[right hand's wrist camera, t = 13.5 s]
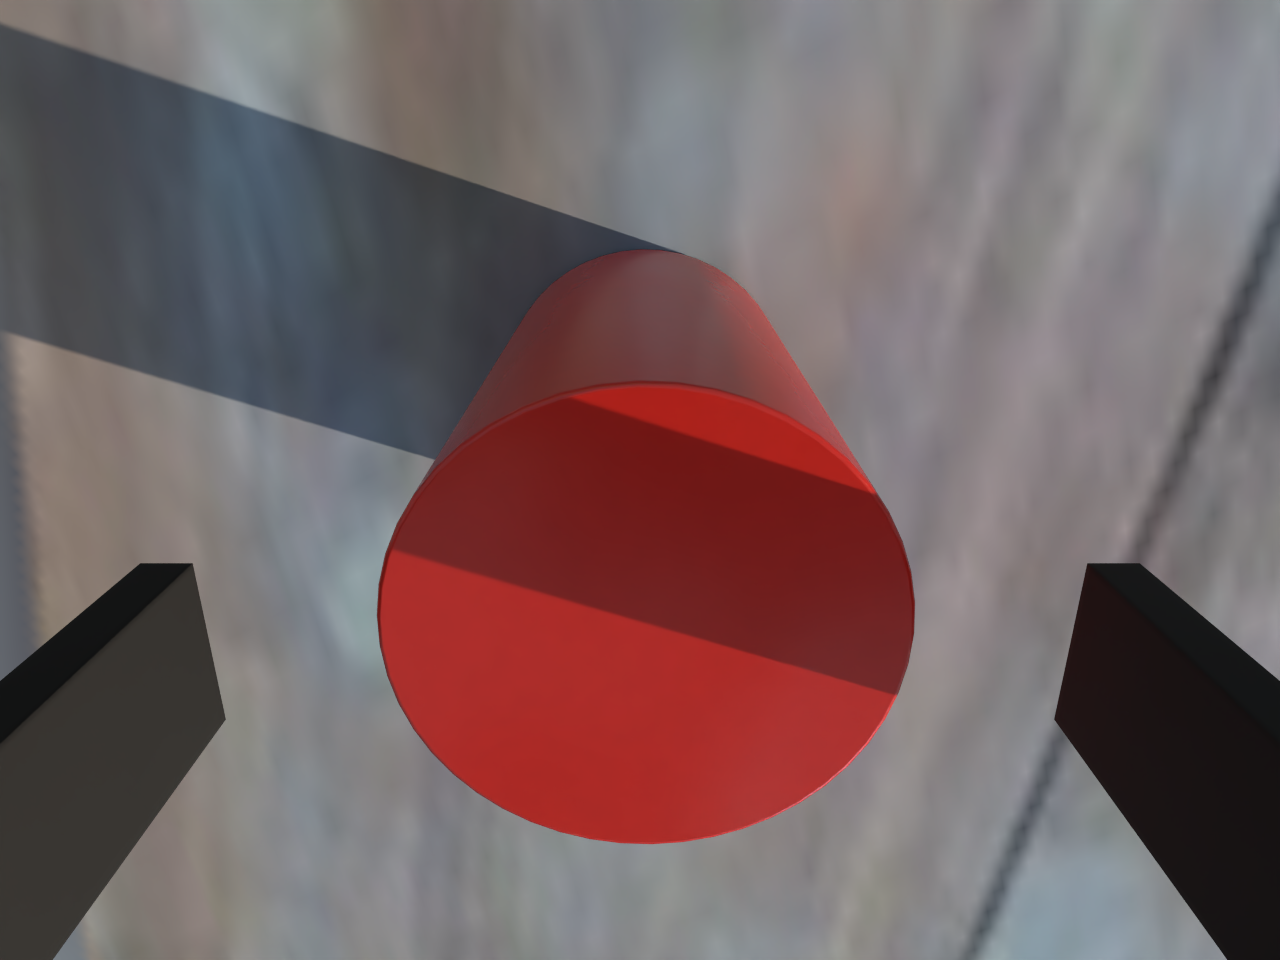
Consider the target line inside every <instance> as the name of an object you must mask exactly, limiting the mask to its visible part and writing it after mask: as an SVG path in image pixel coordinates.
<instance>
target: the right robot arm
mask: <svg viewBox="0 0 1280 960" xmlns="http://www.w3.org/2000/svg"><path fill="white" fill-rule="evenodd" d="M225 720H226V719H225V714H224V709H223V704H222V700H221V695H220V690H219V686H218V681H217V676H216V672H215V667H214V662H213V657H212V653H211V648H210V643H209V639H208V634H207V629H206V624H205V620H204V615H203V610H202V606H201V601H200V596H199V591H198V587H197V582H196V577H195V573H194V568H193V563H140V564H139V565H138V566H137V567H136V568H134V569H133V570H132V571H131V572H130V573H128V574H127V575H126V576H125V577H124V578H122V579H121V580H120V581H119V582H118V583H116V584H115V585H114V586H113V587H112V588H111V589H109V590H108V591H107V592H106V593H105V594H103V595H102V596H101V597H100V598H99V599H97V600H96V601H95V602H94V603H93V604H91V605H90V606H89V607H88V608H87V609H85V610H84V611H83V612H82V613H81V614H80V615H78V616H77V617H76V618H75V619H74V620H72V621H71V622H70V623H69V624H68V625H66V626H65V627H64V628H63V629H62V630H60V631H59V632H58V633H57V634H56V635H55V636H53V637H52V638H51V639H50V640H49V641H47V642H46V643H45V644H44V645H43V646H41V647H40V648H39V649H38V650H37V651H35V652H34V653H33V654H32V655H31V656H30V657H28V658H27V659H26V660H25V661H24V662H22V663H21V664H20V665H19V666H18V667H16V668H15V669H14V670H13V671H12V672H11V673H9V674H8V675H7V676H6V677H5V678H3V679H2V680H1V681H0V960H53V958H54V957H55V956H56V954H57V953H58V952H59V950H60V949H61V947H62V946H63V944H64V943H65V942H66V940H67V939H68V938H69V936H70V935H71V933H72V932H73V931H74V929H75V928H76V927H77V925H78V924H79V922H80V921H81V920H82V918H83V917H84V915H85V914H86V913H87V911H88V910H89V908H90V907H91V906H92V904H93V903H94V902H95V900H96V899H97V897H98V896H99V895H100V893H101V892H102V890H103V889H104V888H105V886H106V885H107V883H108V882H109V881H110V879H111V878H112V877H113V875H114V874H115V872H116V871H117V870H118V868H119V867H120V865H121V864H122V863H123V861H124V860H125V858H126V857H127V856H128V854H129V853H130V852H131V850H132V849H133V847H134V846H135V845H136V843H137V842H138V840H139V839H140V838H141V836H142V835H143V833H144V832H145V831H146V829H147V828H148V827H149V825H150V824H151V822H152V821H153V820H154V818H155V817H156V815H157V814H158V813H159V811H160V810H161V808H162V807H163V806H164V804H165V803H166V802H167V800H168V799H169V797H170V796H171V795H172V793H173V792H174V790H175V789H176V788H177V786H178V785H179V783H180V782H181V781H182V779H183V778H184V777H185V775H186V774H187V772H188V771H189V770H190V768H191V767H192V765H193V764H194V763H195V761H196V760H197V758H198V757H199V756H200V754H201V753H202V752H203V750H204V749H205V747H206V746H207V745H208V743H209V742H210V740H211V739H212V738H213V736H214V735H215V733H216V732H217V731H218V729H219V728H220V727H221V725H222V724H223V722H224V721H225ZM1054 720H1055V721H1056V722H1057V724H1058V725H1059V727H1060V728H1061V729H1062V731H1063V732H1064V733H1065V735H1066V736H1067V738H1068V739H1069V740H1070V742H1071V743H1072V745H1073V746H1074V747H1075V749H1076V750H1077V752H1078V753H1079V754H1080V756H1081V757H1082V758H1083V760H1084V761H1085V763H1086V764H1087V765H1088V767H1089V768H1090V770H1091V771H1092V772H1093V774H1094V775H1095V777H1096V778H1097V779H1098V781H1099V782H1100V783H1101V785H1102V786H1103V788H1104V789H1105V790H1106V792H1107V793H1108V795H1109V796H1110V797H1111V799H1112V800H1113V802H1114V803H1115V804H1116V806H1117V807H1118V808H1119V810H1120V811H1121V813H1122V814H1123V815H1124V817H1125V818H1126V820H1127V821H1128V822H1129V824H1130V825H1131V827H1132V828H1133V829H1134V831H1135V832H1136V833H1137V835H1138V836H1139V838H1140V839H1141V840H1142V842H1143V843H1144V845H1145V846H1146V847H1147V849H1148V850H1149V852H1150V853H1151V854H1152V856H1153V857H1154V858H1155V860H1156V861H1157V863H1158V864H1159V865H1160V867H1161V868H1162V870H1163V871H1164V872H1165V874H1166V875H1167V877H1168V878H1169V879H1170V881H1171V882H1172V883H1173V885H1174V886H1175V888H1176V889H1177V890H1178V892H1179V893H1180V895H1181V896H1182V897H1183V899H1184V900H1185V902H1186V903H1187V904H1188V906H1189V907H1190V908H1191V910H1192V911H1193V913H1194V914H1195V915H1196V917H1197V918H1198V920H1199V921H1200V922H1201V924H1202V925H1203V927H1204V928H1205V929H1206V931H1207V932H1208V933H1209V935H1210V936H1211V938H1212V939H1213V940H1214V942H1215V943H1216V945H1217V946H1218V947H1219V949H1220V950H1221V952H1222V953H1223V954H1224V956H1225V957H1226V958H1227V960H1280V681H1279V680H1278V679H1277V678H1276V677H1274V676H1273V675H1272V674H1271V673H1270V672H1268V671H1267V670H1266V669H1265V668H1264V667H1262V666H1261V665H1260V664H1259V663H1258V662H1256V661H1255V660H1254V659H1253V658H1252V657H1250V656H1249V655H1248V654H1247V653H1246V652H1245V651H1243V650H1242V649H1241V648H1240V647H1239V646H1237V645H1236V644H1235V643H1234V642H1233V641H1231V640H1230V639H1229V638H1228V637H1227V636H1225V635H1224V634H1223V633H1222V632H1221V631H1220V630H1218V629H1217V628H1216V627H1215V626H1214V625H1212V624H1211V623H1210V622H1209V621H1208V620H1206V619H1205V618H1204V617H1203V616H1202V615H1200V614H1199V613H1198V612H1197V611H1196V610H1195V609H1193V608H1192V607H1191V606H1190V605H1189V604H1187V603H1186V602H1185V601H1184V600H1183V599H1181V598H1180V597H1179V596H1178V595H1177V594H1175V593H1174V592H1173V591H1172V590H1171V589H1169V588H1168V587H1167V586H1166V585H1165V584H1164V583H1162V582H1161V581H1160V580H1159V579H1158V578H1156V577H1155V576H1154V575H1153V574H1152V573H1150V572H1149V571H1148V570H1147V569H1146V568H1144V567H1143V566H1142V565H1141V564H1140V563H1087V568H1086V573H1085V577H1084V582H1083V587H1082V591H1081V596H1080V601H1079V606H1078V610H1077V615H1076V620H1075V624H1074V629H1073V634H1072V639H1071V643H1070V648H1069V653H1068V657H1067V662H1066V667H1065V672H1064V676H1063V681H1062V686H1061V690H1060V695H1059V700H1058V704H1057V709H1056V714H1055V719H1054Z"/></svg>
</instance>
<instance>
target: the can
mask: <svg viewBox="0 0 1280 960" xmlns="http://www.w3.org/2000/svg"><path fill="white" fill-rule="evenodd" d="M914 618H915V598H914V590H913V582H912V574H911V569H910V566H909V562H908V559H907V555H906V552H905V548H904V545H903V541H902V539H901V537H900V535H899V532H898V530H897V528H896V526H895V524H894V522H893V519H892V517H891V515H890V513H889V511H888V509H887V508H886V506H885V505H884V503H883V501H882V500H881V498H880V497H879V495H878V494H877V492H876V490H875V489H874V487H873V486H872V484H871V482H870V481H869V479H868V478H867V476H866V475H865V473H864V471H863V470H862V468H861V467H860V465H859V463H858V462H857V460H856V459H855V457H854V456H853V454H852V452H851V451H850V449H849V448H848V446H847V444H846V443H845V441H844V440H843V438H842V437H841V435H840V433H839V432H838V430H837V429H836V427H835V426H834V424H833V422H832V421H831V419H830V418H829V416H828V414H827V413H826V411H825V410H824V408H823V407H822V405H821V403H820V402H819V400H818V399H817V397H816V395H815V394H814V392H813V391H812V389H811V388H810V386H809V384H808V383H807V381H806V380H805V378H804V376H803V375H802V373H801V372H800V370H799V369H798V367H797V365H796V364H795V362H794V361H793V359H792V357H791V356H790V354H789V353H788V351H787V350H786V348H785V346H784V345H783V343H782V342H781V340H780V338H779V337H778V335H777V334H776V332H775V331H774V329H773V327H772V326H771V324H770V323H769V321H768V319H767V318H766V316H765V315H764V313H763V312H762V310H761V309H760V307H759V306H758V304H757V303H756V302H755V301H754V300H753V298H752V297H751V296H750V295H749V294H748V293H747V292H746V291H745V290H744V289H743V288H742V287H741V286H740V285H739V284H738V283H736V282H735V281H734V280H733V279H732V278H731V277H729V276H727V275H726V274H724V273H723V272H721V271H720V270H718V269H717V268H715V267H713V266H711V265H709V264H707V263H705V262H703V261H700V260H698V259H696V258H692V257H689V256H686V255H683V254H680V253H674V252H669V251H663V250H646V249H639V250H629V251H620V252H616V253H612V254H608V255H603V256H601V257H598V258H595V259H593V260H590V261H587V262H585V263H583V264H581V265H579V266H578V267H576V268H574V269H572V270H570V271H568V272H567V273H566V274H564V275H563V276H562V277H560V278H559V279H558V280H556V281H555V282H553V283H552V284H551V285H550V286H549V287H548V288H547V289H546V290H545V291H544V292H543V293H542V294H541V295H540V296H539V297H538V299H537V300H536V301H535V302H534V304H533V305H532V306H531V308H530V309H529V310H528V312H527V313H526V315H525V317H524V318H523V320H522V321H521V323H520V325H519V326H518V328H517V329H516V331H515V333H514V334H513V336H512V337H511V339H510V341H509V342H508V344H507V345H506V347H505V349H504V350H503V352H502V353H501V355H500V357H499V358H498V360H497V361H496V363H495V365H494V366H493V368H492V370H491V371H490V373H489V374H488V376H487V378H486V379H485V381H484V382H483V384H482V386H481V387H480V389H479V390H478V392H477V394H476V395H475V397H474V398H473V400H472V402H471V403H470V405H469V406H468V408H467V410H466V411H465V413H464V414H463V416H462V418H461V419H460V421H459V423H458V424H457V426H456V427H455V429H454V431H453V432H452V434H451V435H450V437H449V439H448V440H447V442H446V443H445V445H444V447H443V448H442V450H441V451H440V453H439V455H438V456H437V458H436V459H435V461H434V463H433V464H432V466H431V467H430V469H429V471H428V472H427V474H426V476H425V477H424V479H423V480H422V482H421V484H420V485H419V487H418V488H417V490H416V492H415V493H414V495H413V496H412V498H411V500H410V502H409V503H408V505H407V507H406V509H405V510H404V512H403V514H402V516H401V517H400V519H399V521H398V523H397V525H396V527H395V530H394V533H393V535H392V538H391V540H390V543H389V546H388V548H387V551H386V553H385V558H384V562H383V567H382V571H381V576H380V581H379V588H378V605H377V621H378V632H379V642H380V648H381V652H382V656H383V660H384V664H385V668H386V672H387V676H388V679H389V681H390V683H391V686H392V688H393V691H394V693H395V696H396V698H397V701H398V703H399V705H400V707H401V708H402V710H403V712H404V713H405V715H406V717H407V719H408V720H409V722H410V724H411V725H412V727H413V729H414V730H415V732H416V733H417V734H418V735H419V737H420V738H421V739H422V741H423V742H424V743H425V744H426V746H427V747H428V748H429V750H430V751H431V752H432V753H433V754H434V755H435V756H436V757H437V758H438V759H439V760H440V761H441V762H442V763H443V764H444V765H445V766H446V767H447V768H448V769H449V770H450V771H451V772H452V773H453V774H454V775H455V776H456V777H458V778H459V779H460V780H461V781H463V782H464V783H465V784H467V785H468V786H469V787H470V788H472V789H473V790H474V791H475V792H477V793H478V794H480V795H482V796H483V797H485V798H486V799H488V800H490V801H491V802H493V803H495V804H496V805H498V806H499V807H501V808H503V809H505V810H507V811H509V812H511V813H513V814H515V815H517V816H520V817H522V818H524V819H526V820H528V821H530V822H533V823H536V824H539V825H541V826H544V827H547V828H550V829H553V830H556V831H559V832H562V833H567V834H571V835H575V836H579V837H584V838H588V839H593V840H601V841H609V842H616V843H634V844H660V843H675V842H686V841H691V840H697V839H703V838H709V837H714V836H718V835H722V834H725V833H729V832H732V831H736V830H740V829H743V828H746V827H748V826H751V825H754V824H756V823H759V822H761V821H764V820H766V819H769V818H771V817H773V816H775V815H777V814H779V813H781V812H783V811H785V810H787V809H789V808H791V807H793V806H794V805H796V804H798V803H800V802H802V801H803V800H804V799H806V798H807V797H809V796H810V795H812V794H813V793H815V792H816V791H818V790H819V789H821V788H822V787H824V786H825V785H826V784H827V783H829V782H830V781H831V780H832V779H833V778H834V777H835V776H837V775H838V774H839V773H840V772H841V771H842V770H844V769H845V768H846V767H847V766H848V765H849V764H850V763H851V762H852V761H853V760H854V758H855V757H856V756H857V755H858V754H859V753H860V752H861V751H862V750H863V749H864V747H865V746H866V745H867V744H868V743H869V741H870V740H871V738H872V737H873V736H874V734H875V733H876V731H877V730H878V728H879V727H880V726H881V724H882V723H883V721H884V720H885V718H886V716H887V714H888V712H889V710H890V708H891V706H892V704H893V702H894V700H895V698H896V696H897V694H898V692H899V690H900V687H901V684H902V681H903V678H904V675H905V672H906V669H907V666H908V663H909V657H910V652H911V647H912V641H913V636H914Z"/></svg>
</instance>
